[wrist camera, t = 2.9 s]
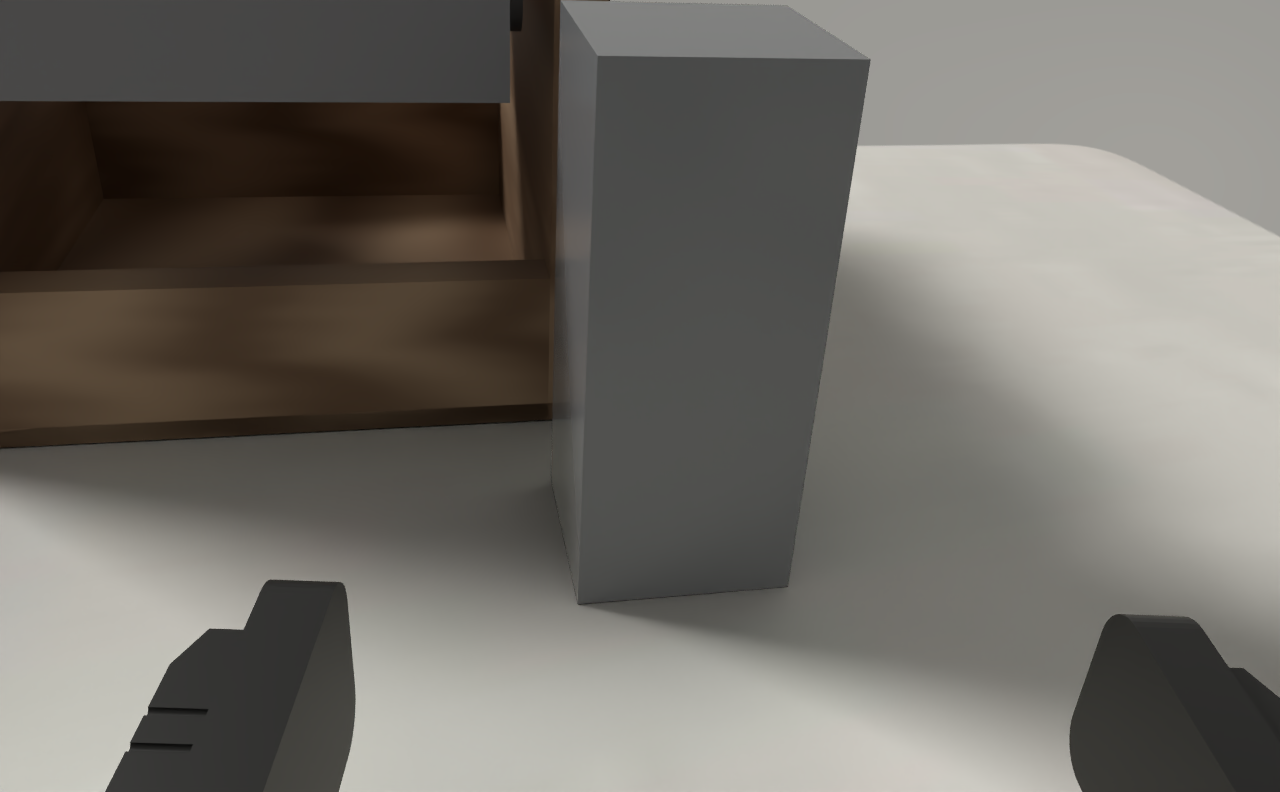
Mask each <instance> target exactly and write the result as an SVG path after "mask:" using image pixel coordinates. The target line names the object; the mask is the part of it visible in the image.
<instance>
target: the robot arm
mask: <svg viewBox="0 0 1280 792" xmlns="http://www.w3.org/2000/svg"><path fill="white" fill-rule="evenodd" d="M354 719H355V682H354V671H353V659H352V648H351V636H350V625H349V614H348V602H347V594H346V589H345V586H344V585H343V583H341V582H320V581H294V580H268V581H267V582H266V583H265V584H264V586H263V588H262V590H261V592H260V594H259V596H258V598H257V601H256V603H255V605H254V607H253V610H252V612H251V614H250V617H249V619H248V621H247V623H246V626H245V628H244V630H233V629H209V630H207V631H206V632H205V633H204V634H203V635H202V636H201V637H200V638H199V639H197V640H196V641H195V642H194V643H193V644H192V645H191V646H190V647H189V648H187V649H186V650H185V651H184V652H183V653H182V654H181V655H180V656H179V657H177V658H176V659H175V660H174V661H173V662H172V663H171V664H170V665H169V667H168V669H167V671H166V673H165V675H164V677H163V679H162V681H161V683H160V685H159V687H158V689H157V691H156V693H155V695H154V697H153V699H152V700H151V702H150V704H149V706H148V714H147V716H145V715H144V716H143V718H142V720H141V722H140V724H139V726H138V728H137V730H136V732H135V734H134V736H133V738H132V740H131V742H130V750H129V752H125V754H124V756H123V758H122V760H121V762H120V764H119V766H118V768H117V769H116V771H115V773H114V775H113V777H112V779H111V781H110V783H109V785H108V787H107V789H106V791H105V792H339V788H340V785H341V781H342V777H343V774H344V770H345V767H346V763H347V759H348V756H349V752H350V747H351V742H352V736H353V729H354ZM1070 754H1071V761H1072V766H1073V770H1074V773H1075V776H1076V779H1077V781H1078V783H1079V786H1080V788H1081V790H1082V792H1280V698H1279V697H1278V696H1277V695H1275V694H1274V693H1273V692H1272V691H1271V690H1269V689H1268V688H1267V687H1266V686H1264V685H1263V684H1262V683H1261V682H1259V681H1258V680H1257V679H1256V678H1255V677H1253V676H1252V675H1251V674H1250V673H1248V672H1247V671H1246V670H1245V669H1244V668H1229V667H1228V666H1227V664H1226V663H1225V661H1224V660H1223V658H1222V657H1221V655H1220V654H1219V653H1218V651H1217V650H1216V648H1215V647H1214V645H1213V644H1212V642H1211V641H1210V639H1209V638H1208V636H1207V635H1206V634H1205V632H1204V631H1203V629H1202V628H1201V627H1200V625H1199V624H1198V623H1197V622H1195V621H1194V620H1193V619H1191V618H1189V617H1180V616H1154V615H1127V614H1117V615H1114V616H1112V617H1111V618H1110V619H1109V620H1108V621H1107V623H1106V624H1105V626H1104V628H1103V631H1102V633H1101V636H1100V639H1099V642H1098V645H1097V648H1096V651H1095V653H1094V656H1093V659H1092V662H1091V665H1090V668H1089V671H1088V673H1087V676H1086V679H1085V682H1084V685H1083V688H1082V691H1081V693H1080V696H1079V699H1078V702H1077V705H1076V708H1075V711H1074V713H1073V717H1072V720H1071V726H1070Z"/></svg>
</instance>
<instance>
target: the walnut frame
mask: <svg viewBox="0 0 1280 792" xmlns="http://www.w3.org/2000/svg"><path fill="white" fill-rule="evenodd" d="M577 1H610V0H577ZM559 49H560V0H523V20H522V29H521V32H519V31H510V103H374V102H132V101H0V448H5V447H25V446H44V445H64V444H83V443H103V442H122V441H142V440H161V439H181V438H200V437H219V436H239V435H258V434H278V433H297V432H317V431H336V430H356V429H375V428H395V427H414V426H434V425H453V424H473V423H492V422H512V421H531V420H551V419H552V408H553V357H554V305H555V254H556V203H557V151H558V100H559Z"/></svg>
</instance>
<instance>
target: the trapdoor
mask: <svg viewBox="0 0 1280 792" xmlns="http://www.w3.org/2000/svg"><path fill="white" fill-rule="evenodd" d="M522 20H523V0H0V101H132V102H374V103H510V31H519V32H521V29H522Z"/></svg>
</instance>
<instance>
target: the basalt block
mask: <svg viewBox="0 0 1280 792" xmlns="http://www.w3.org/2000/svg"><path fill="white" fill-rule="evenodd" d="M869 66H870V59H869V58H868V57H866V56H864V55H863V54H861V53H860V52H858V51H857V50H855V49H854V48H852V47H851V46H849V45H848V44H846V43H844V42H843V41H841V40H840V39H838V38H837V37H835V36H834V35H832V34H830V33H829V32H827V31H826V30H824V29H823V28H821V27H820V26H818V25H817V24H815V23H813V22H812V21H810V20H809V19H807V18H806V17H804V16H803V15H801V14H800V13H798V12H796V11H795V10H793V9H792V8H790V7H789V6H786V5H749V4H706V3H705V4H704V3H662V2H620V1H577V0H560V49H559V100H558V151H557V203H556V254H555V305H554V357H553V408H552V460H551V482H552V487H553V492H554V496H555V501H556V506H557V510H558V515H559V520H560V524H561V529H562V534H563V538H564V543H565V548H566V552H567V557H568V562H569V566H570V571H571V576H572V580H573V585H574V590H575V594H576V599H577V604H586V603H598V602H610V601H622V600H634V599H646V598H658V597H670V596H682V595H694V594H706V593H718V592H730V591H742V590H754V589H766V588H778V587H788V581H789V574H790V568H791V562H792V555H793V549H794V543H795V536H796V530H797V524H798V517H799V511H800V504H801V498H802V492H803V485H804V479H805V473H806V466H807V460H808V454H809V447H810V441H811V435H812V428H813V422H814V416H815V409H816V403H817V397H818V390H819V384H820V378H821V371H822V365H823V359H824V352H825V346H826V340H827V333H828V327H829V320H830V314H831V308H832V301H833V295H834V289H835V282H836V276H837V270H838V263H839V257H840V251H841V244H842V238H843V232H844V225H845V219H846V213H847V206H848V200H849V194H850V187H851V181H852V175H853V168H854V162H855V155H856V149H857V143H858V136H859V130H860V123H861V117H862V111H863V105H864V98H865V92H866V86H867V79H868V73H869Z"/></svg>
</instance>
